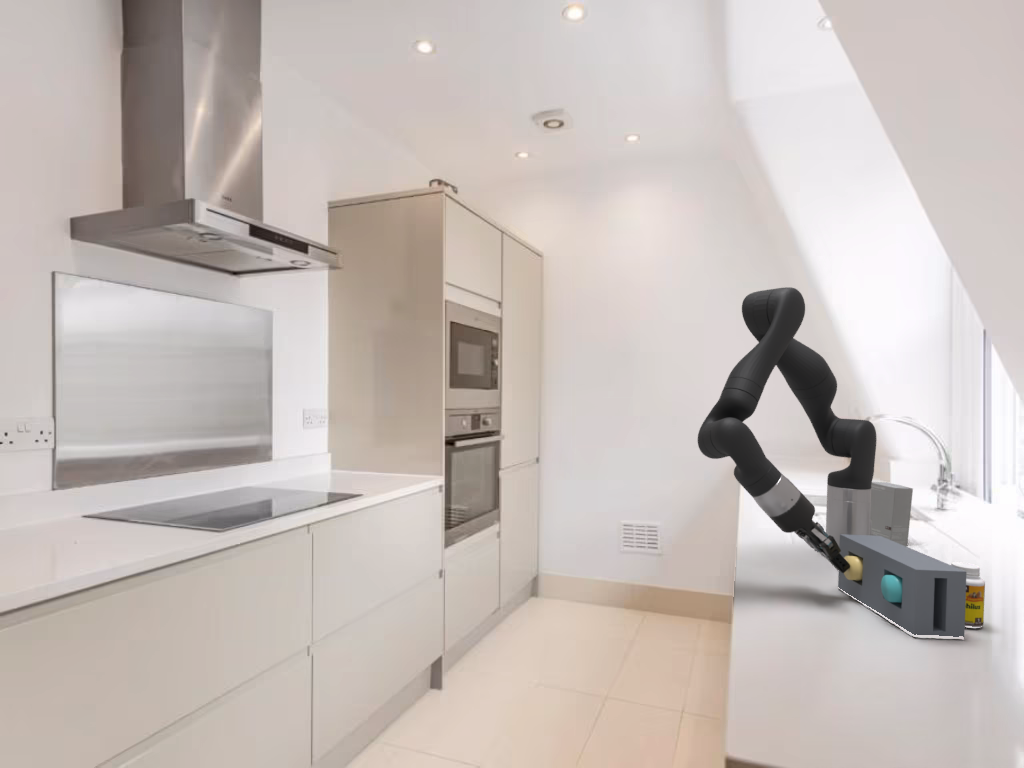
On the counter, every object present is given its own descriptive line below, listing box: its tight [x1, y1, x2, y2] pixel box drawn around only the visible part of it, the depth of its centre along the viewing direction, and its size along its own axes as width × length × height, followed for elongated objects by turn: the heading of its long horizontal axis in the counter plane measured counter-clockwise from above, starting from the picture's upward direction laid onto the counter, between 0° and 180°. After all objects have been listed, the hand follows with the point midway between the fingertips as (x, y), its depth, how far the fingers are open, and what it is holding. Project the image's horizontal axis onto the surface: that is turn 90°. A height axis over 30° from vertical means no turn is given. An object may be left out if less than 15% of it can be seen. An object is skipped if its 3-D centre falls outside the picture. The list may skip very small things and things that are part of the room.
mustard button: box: [844, 556, 863, 580], centre depth 117 cm, size 3×4×4 cm
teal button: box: [881, 575, 903, 603], centre depth 105 cm, size 3×4×4 cm
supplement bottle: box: [950, 561, 986, 627], centre depth 106 cm, size 6×6×10 cm
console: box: [837, 534, 966, 638], centre depth 111 cm, size 8×24×11 cm, turn 179°
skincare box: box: [870, 481, 914, 547], centre depth 165 cm, size 8×7×16 cm
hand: (844, 568), depth 117 cm, fingers closed
